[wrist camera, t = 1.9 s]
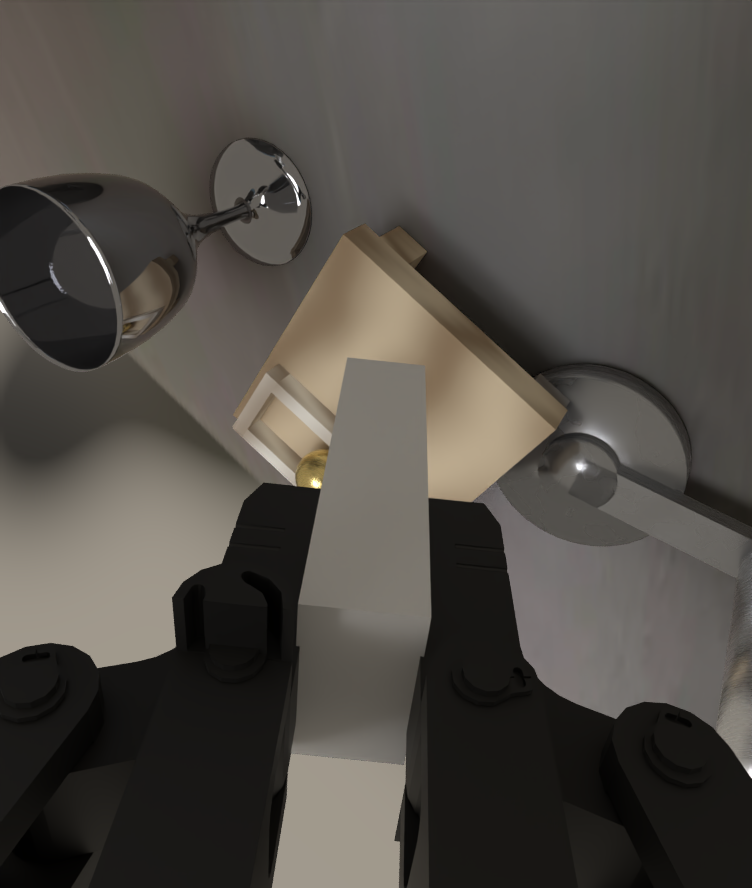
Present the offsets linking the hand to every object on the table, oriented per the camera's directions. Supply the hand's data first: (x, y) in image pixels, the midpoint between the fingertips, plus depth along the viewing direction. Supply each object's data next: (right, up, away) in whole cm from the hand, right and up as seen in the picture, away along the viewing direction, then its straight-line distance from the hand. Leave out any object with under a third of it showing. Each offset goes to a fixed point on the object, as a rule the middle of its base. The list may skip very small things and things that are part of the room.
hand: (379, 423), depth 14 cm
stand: (+3, +4, +27) cm, 27 cm away
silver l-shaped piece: (+14, -2, +23) cm, 27 cm away
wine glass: (-7, +13, +26) cm, 30 cm away
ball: (-3, -2, +24) cm, 24 cm away
